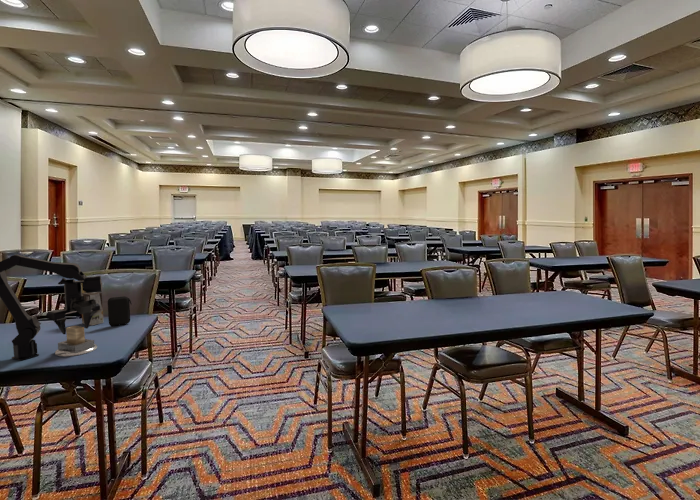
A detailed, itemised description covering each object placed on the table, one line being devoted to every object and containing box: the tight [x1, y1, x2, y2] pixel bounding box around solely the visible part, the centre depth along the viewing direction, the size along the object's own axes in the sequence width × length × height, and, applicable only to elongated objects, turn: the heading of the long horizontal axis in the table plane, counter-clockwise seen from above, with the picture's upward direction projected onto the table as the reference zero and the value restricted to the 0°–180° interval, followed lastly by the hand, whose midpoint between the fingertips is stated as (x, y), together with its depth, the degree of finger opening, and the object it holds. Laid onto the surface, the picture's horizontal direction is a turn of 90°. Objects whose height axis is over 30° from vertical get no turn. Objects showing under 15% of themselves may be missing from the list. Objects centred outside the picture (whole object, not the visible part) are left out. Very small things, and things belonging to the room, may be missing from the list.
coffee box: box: [81, 292, 104, 326], centre depth 212 cm, size 9×6×16 cm
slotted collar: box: [54, 338, 98, 358], centre depth 169 cm, size 14×14×4 cm
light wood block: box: [65, 325, 86, 345], centre depth 168 cm, size 4×6×9 cm, turn 67°
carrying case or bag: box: [107, 295, 132, 327], centre depth 208 cm, size 11×3×15 cm, turn 127°
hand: (75, 331), depth 168 cm, fingers open, 9 cm apart
